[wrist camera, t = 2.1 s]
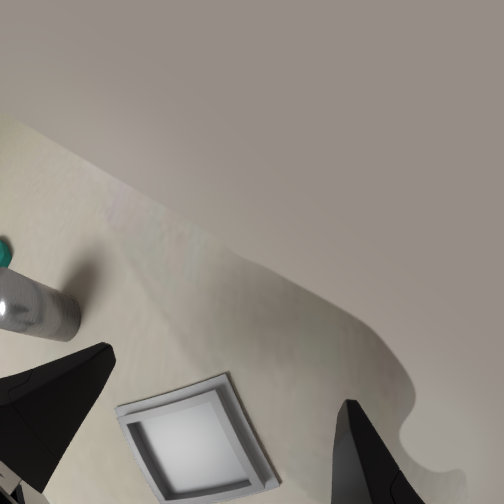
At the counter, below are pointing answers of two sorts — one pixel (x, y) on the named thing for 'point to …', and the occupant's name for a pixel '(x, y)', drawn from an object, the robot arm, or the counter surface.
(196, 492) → the holder
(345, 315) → the counter surface
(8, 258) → the digital multimeter
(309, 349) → the counter surface
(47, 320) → the metal cylinder
